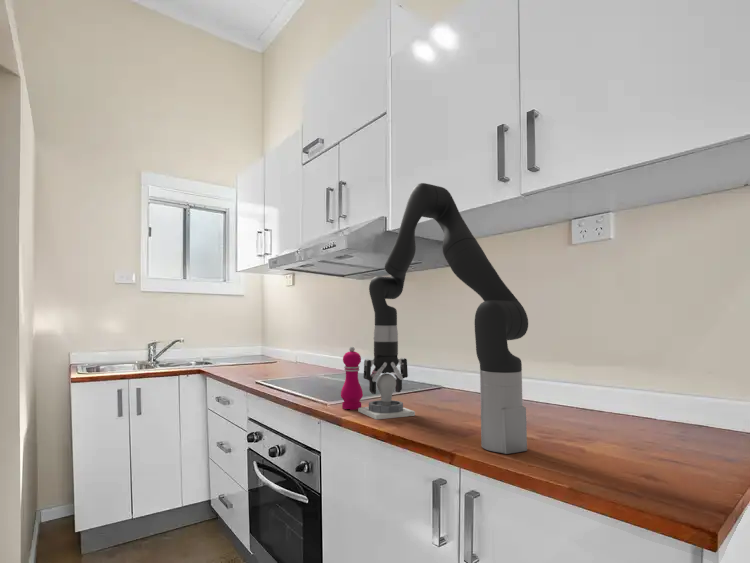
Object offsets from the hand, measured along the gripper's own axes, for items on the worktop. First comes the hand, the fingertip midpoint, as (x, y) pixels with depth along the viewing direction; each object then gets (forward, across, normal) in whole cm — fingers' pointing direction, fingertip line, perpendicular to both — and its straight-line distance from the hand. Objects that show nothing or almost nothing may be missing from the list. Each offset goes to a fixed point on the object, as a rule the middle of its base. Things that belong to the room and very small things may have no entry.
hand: (385, 392), depth 144 cm
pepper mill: (+6, -6, +13) cm, 16 cm away
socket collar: (+5, 0, 0) cm, 5 cm away
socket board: (+6, 0, 0) cm, 6 cm away
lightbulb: (+5, 0, 0) cm, 5 cm away
